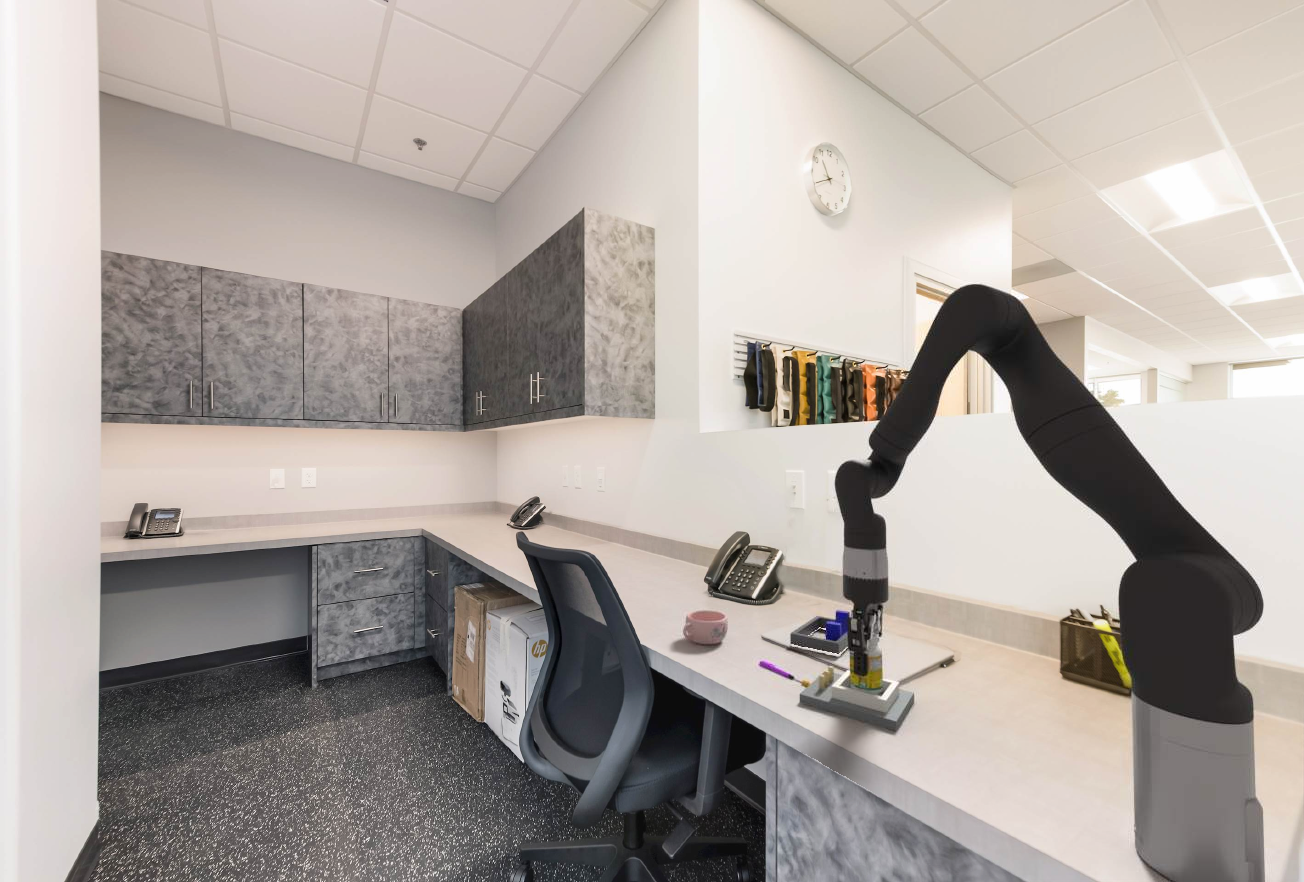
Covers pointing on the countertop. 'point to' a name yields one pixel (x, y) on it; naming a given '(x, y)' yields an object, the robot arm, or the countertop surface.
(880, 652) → the supplement bottle
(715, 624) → the mug
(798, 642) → the tray
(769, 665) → the purple handled brush
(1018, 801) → the countertop surface
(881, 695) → the board
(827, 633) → the cable clip
